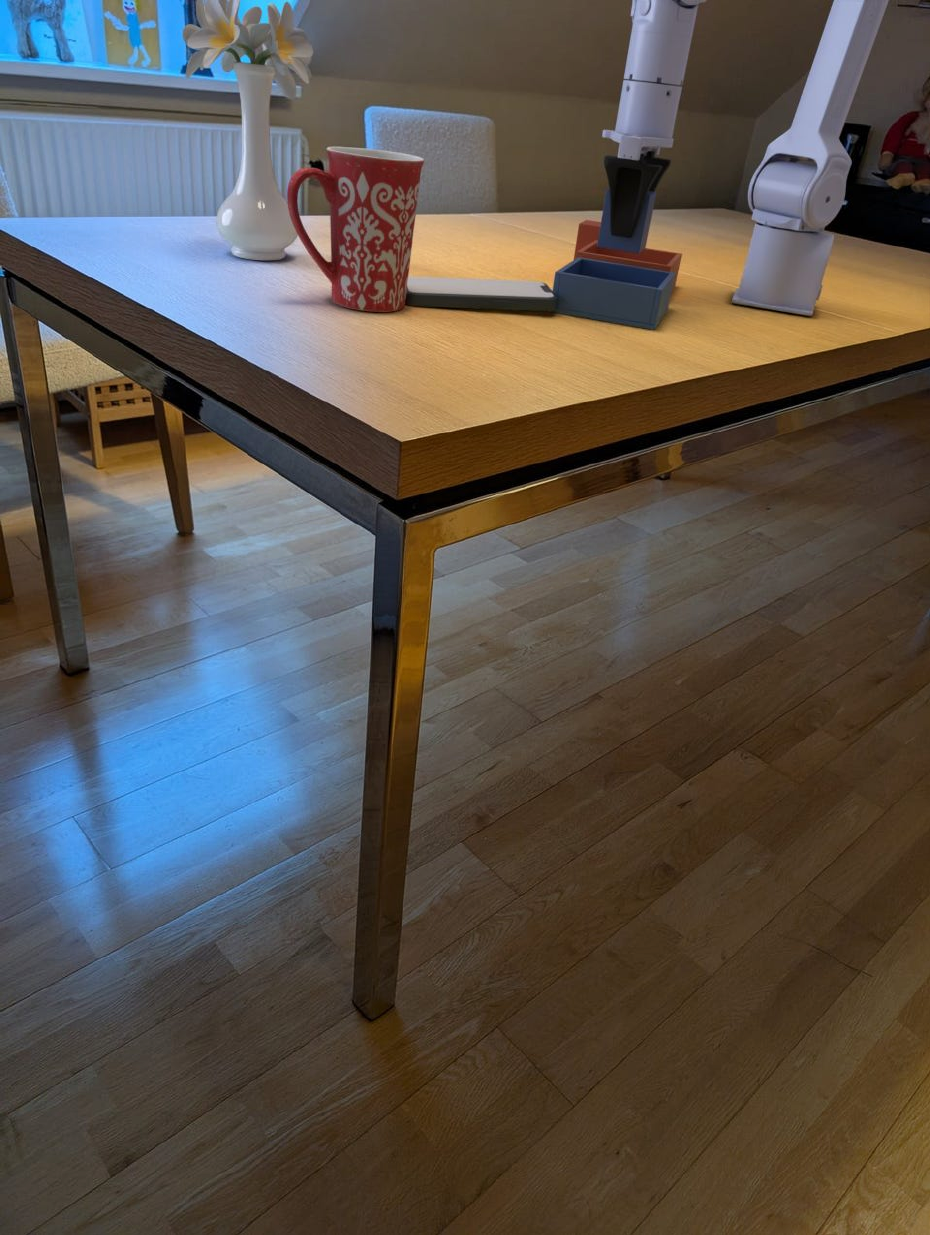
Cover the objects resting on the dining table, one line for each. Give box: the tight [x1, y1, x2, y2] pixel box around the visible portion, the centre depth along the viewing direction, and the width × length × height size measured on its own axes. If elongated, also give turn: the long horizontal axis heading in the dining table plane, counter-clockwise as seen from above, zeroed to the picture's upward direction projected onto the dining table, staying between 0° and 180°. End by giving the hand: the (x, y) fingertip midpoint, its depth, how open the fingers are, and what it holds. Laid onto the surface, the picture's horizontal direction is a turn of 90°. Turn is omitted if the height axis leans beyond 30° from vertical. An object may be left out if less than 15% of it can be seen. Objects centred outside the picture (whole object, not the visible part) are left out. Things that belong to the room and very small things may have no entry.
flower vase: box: [182, 0, 314, 262], centre depth 97 cm, size 13×18×25 cm
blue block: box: [597, 188, 657, 254], centre depth 92 cm, size 4×4×6 cm
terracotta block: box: [573, 219, 601, 260], centre depth 116 cm, size 4×4×6 cm
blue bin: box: [549, 257, 676, 331], centre depth 95 cm, size 11×11×4 cm
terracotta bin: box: [576, 240, 683, 291], centre depth 108 cm, size 11×11×4 cm
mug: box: [286, 146, 425, 313], centre depth 84 cm, size 13×9×14 cm
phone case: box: [405, 275, 558, 312], centre depth 93 cm, size 9×2×16 cm
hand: (625, 233), depth 93 cm, fingers closed on blue block, 4 cm apart
